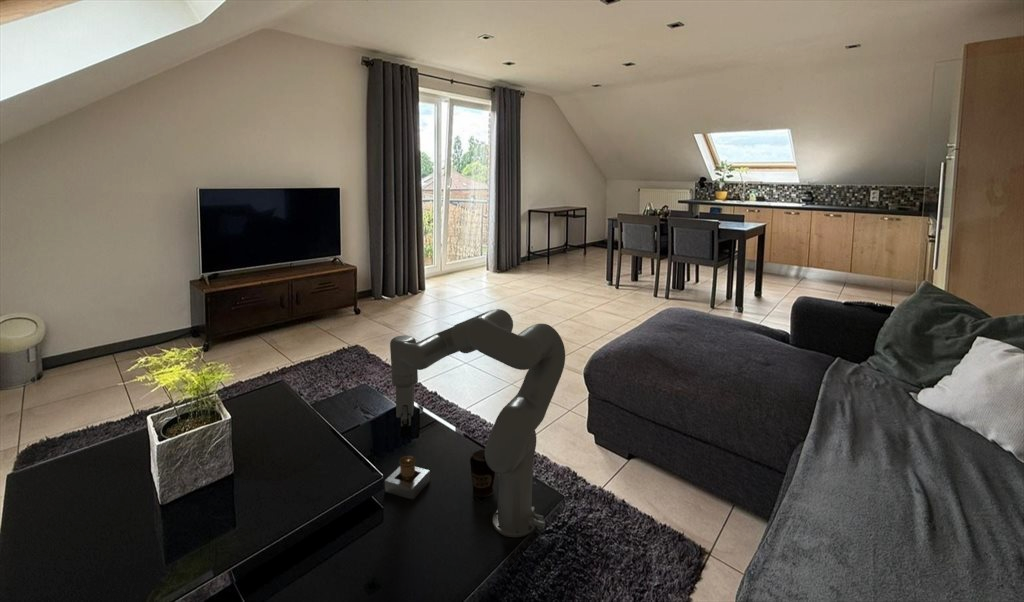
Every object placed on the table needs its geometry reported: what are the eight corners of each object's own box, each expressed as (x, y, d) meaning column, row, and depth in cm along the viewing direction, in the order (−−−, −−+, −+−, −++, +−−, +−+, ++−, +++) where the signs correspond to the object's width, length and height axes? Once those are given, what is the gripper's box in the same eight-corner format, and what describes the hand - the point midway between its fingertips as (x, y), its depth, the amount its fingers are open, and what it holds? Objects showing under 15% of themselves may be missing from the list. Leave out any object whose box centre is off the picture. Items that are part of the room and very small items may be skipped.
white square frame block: (429, 481, 158) (429, 470, 157) (412, 499, 149) (412, 488, 148) (403, 473, 162) (403, 463, 161) (385, 491, 153) (384, 480, 152)
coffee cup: (492, 502, 149) (493, 465, 145) (466, 498, 150) (466, 461, 147) (499, 485, 157) (499, 449, 154) (474, 481, 159) (474, 445, 155)
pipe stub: (419, 482, 157) (418, 457, 154) (410, 491, 152) (409, 466, 150) (405, 479, 158) (404, 454, 156) (396, 488, 154) (396, 462, 152)
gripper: (394, 366, 153) (396, 415, 158) (389, 390, 137) (392, 444, 141) (418, 365, 155) (420, 414, 159) (416, 388, 138) (419, 442, 143)
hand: (407, 428), depth 150 cm, fingers open, 9 cm apart
